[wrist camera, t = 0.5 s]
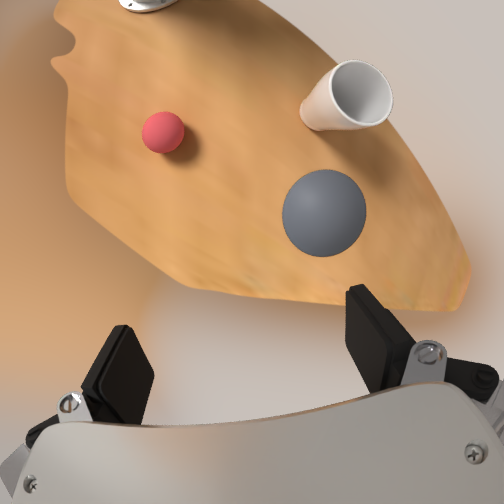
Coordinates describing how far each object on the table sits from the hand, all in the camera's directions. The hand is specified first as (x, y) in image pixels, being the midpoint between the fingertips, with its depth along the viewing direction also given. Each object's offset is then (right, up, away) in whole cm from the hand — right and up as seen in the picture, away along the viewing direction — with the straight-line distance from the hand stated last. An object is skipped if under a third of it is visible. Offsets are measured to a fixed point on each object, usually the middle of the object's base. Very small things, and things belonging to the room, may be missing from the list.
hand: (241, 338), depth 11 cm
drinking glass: (+9, +23, +23) cm, 34 cm away
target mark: (+11, +9, +28) cm, 31 cm away
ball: (-11, +19, +20) cm, 29 cm away
